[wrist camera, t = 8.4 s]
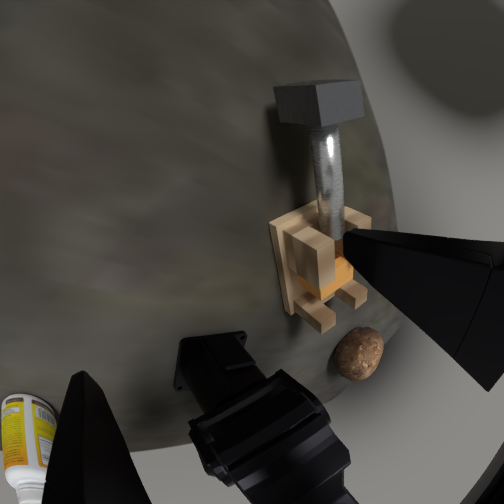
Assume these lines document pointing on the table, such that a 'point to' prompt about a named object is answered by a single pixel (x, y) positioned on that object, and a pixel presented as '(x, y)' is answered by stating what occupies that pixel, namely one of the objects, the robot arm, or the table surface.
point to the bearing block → (312, 263)
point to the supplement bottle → (27, 444)
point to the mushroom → (359, 353)
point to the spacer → (341, 277)
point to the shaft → (323, 138)
